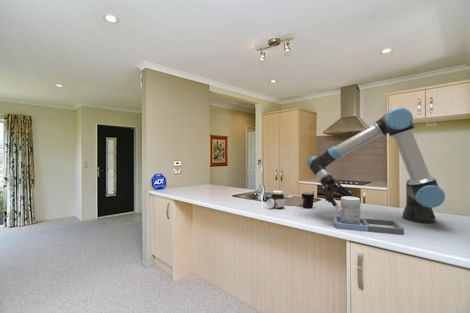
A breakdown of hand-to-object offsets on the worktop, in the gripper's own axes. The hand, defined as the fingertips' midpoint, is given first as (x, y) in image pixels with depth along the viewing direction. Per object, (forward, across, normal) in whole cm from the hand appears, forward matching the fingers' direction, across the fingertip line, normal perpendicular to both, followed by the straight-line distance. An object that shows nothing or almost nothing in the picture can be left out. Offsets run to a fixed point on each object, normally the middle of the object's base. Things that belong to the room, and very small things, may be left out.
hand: (348, 209), depth 128 cm
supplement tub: (+7, 0, -5) cm, 9 cm away
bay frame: (+10, -5, -1) cm, 12 cm away
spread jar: (-29, +8, -42) cm, 52 cm away
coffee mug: (-23, -14, -35) cm, 44 cm away
